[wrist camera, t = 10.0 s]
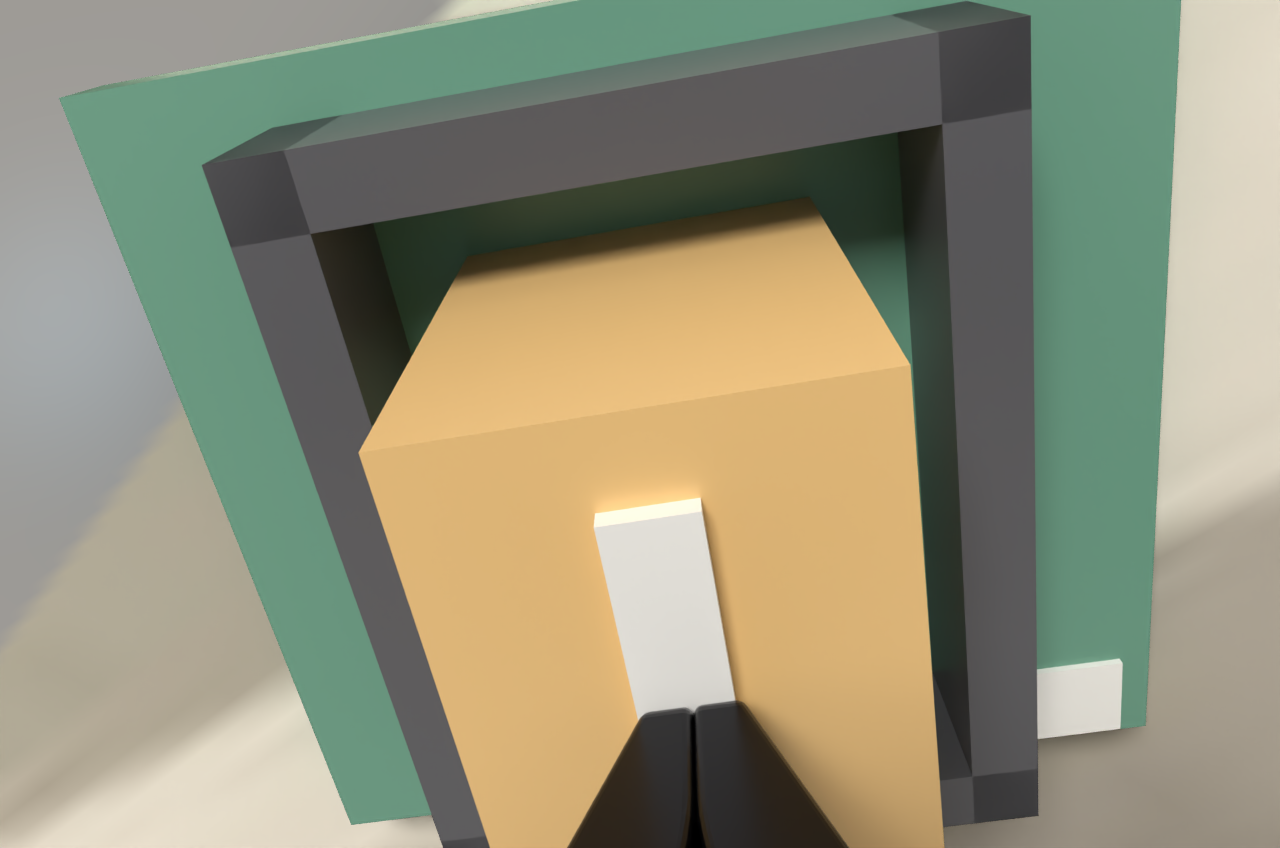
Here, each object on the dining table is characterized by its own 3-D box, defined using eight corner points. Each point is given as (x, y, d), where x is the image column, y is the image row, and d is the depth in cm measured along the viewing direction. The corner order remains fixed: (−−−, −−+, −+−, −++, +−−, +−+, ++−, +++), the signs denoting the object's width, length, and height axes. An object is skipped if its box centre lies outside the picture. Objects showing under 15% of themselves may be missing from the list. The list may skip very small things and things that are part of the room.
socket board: (1117, 680, 16) (1213, 835, 13) (367, 777, 17) (313, 938, 14) (1142, -112, 11) (1300, -125, 8) (102, 85, 12) (-54, 130, 9)
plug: (855, 622, 14) (957, 963, 10) (572, 662, 15) (535, 1010, 10) (809, 196, 12) (916, 376, 7) (467, 256, 12) (352, 464, 7)
